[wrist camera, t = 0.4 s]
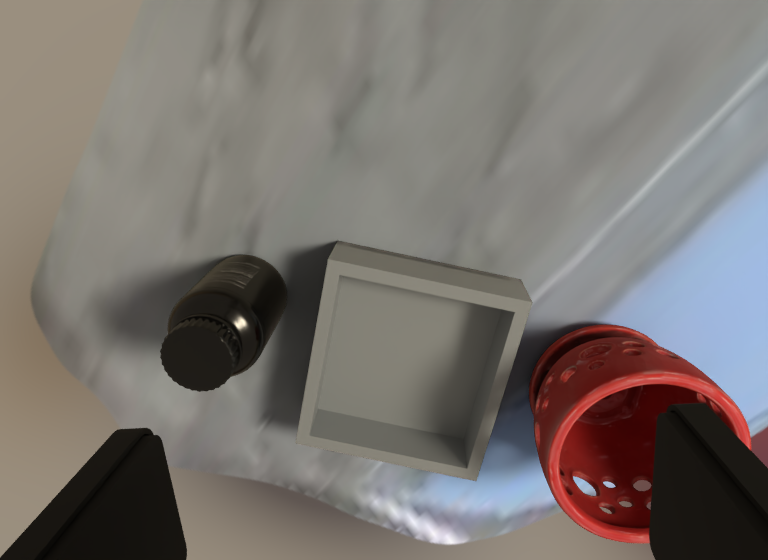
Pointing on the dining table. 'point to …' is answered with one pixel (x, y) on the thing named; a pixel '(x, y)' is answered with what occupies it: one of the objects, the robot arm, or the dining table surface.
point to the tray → (410, 360)
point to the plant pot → (612, 421)
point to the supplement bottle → (223, 323)
